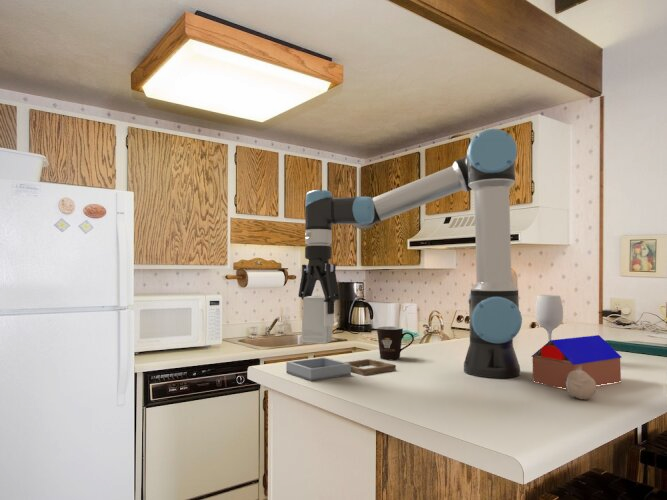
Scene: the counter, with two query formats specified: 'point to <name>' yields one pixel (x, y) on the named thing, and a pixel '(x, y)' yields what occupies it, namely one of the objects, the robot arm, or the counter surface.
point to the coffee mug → (391, 342)
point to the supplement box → (314, 321)
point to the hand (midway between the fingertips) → (317, 324)
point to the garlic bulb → (580, 384)
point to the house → (576, 361)
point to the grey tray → (318, 368)
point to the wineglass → (549, 312)
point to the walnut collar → (378, 369)
